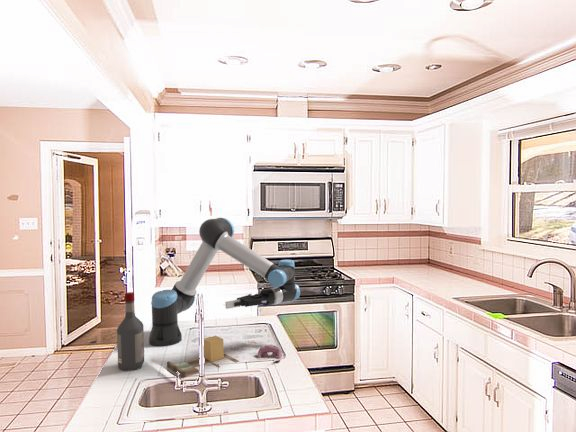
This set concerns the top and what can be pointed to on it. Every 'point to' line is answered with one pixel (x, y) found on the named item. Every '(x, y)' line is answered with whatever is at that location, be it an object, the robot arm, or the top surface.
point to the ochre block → (213, 348)
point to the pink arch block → (270, 348)
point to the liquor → (130, 338)
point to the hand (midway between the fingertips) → (226, 305)
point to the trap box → (191, 366)
